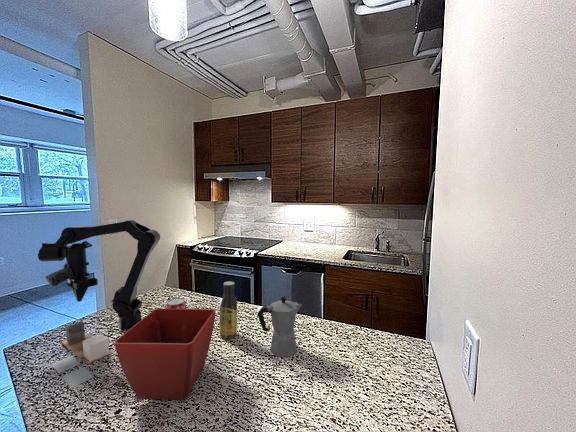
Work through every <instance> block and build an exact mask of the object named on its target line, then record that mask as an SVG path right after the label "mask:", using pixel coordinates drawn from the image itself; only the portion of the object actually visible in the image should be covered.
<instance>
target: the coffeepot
mask: <svg viewBox="0 0 576 432" xmlns="http://www.w3.org/2000/svg"><path fill="white" fill-rule="evenodd" d="M286 298H287V297H286V296H281V299H280V300H277V301H274V302H272V303H270V305H267V306H261V308H260V309H259V310H258V312H257V313H256V315H257V318H258V320H259V323H260V326H261V328H262V331H263V332H269V331H270V330H271V328H270V327H267V323H266V321H265V317H264V314H265V313H268V314H269V313H270V316H271V324H272V327H273V331H272V336H271V337H272V338H271V345H270V350H269V351H270V353H271V354H273V355H274V356H276V357H280V358H286V357H292V356H293V355H295V353H297V341H296V340H297V339H296V335H295V324H296V323H295V322H296V317H297V316H296V315H297V313H298V311H299V310H300V308H301V307H302V306H303V304H302V303H301V302H295V301H291V300H287V299H286Z"/></svg>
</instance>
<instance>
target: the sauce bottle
mask: <svg viewBox="0 0 576 432" xmlns="http://www.w3.org/2000/svg"><path fill="white" fill-rule="evenodd" d="M222 284H223V285H222V287H223V296H222V299H221V301H220V305H219V336H220V338H222V339H224V340H231V339H233V338H235V337H236V335H237V329H238V298H236V296H235V286H236V283H235V282H234V281H232V280H231V281H225V282H223V283H222Z"/></svg>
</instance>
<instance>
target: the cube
mask: <svg viewBox="0 0 576 432" xmlns="http://www.w3.org/2000/svg"><path fill="white" fill-rule="evenodd" d="M91 337H92V338H89V339H87V340H84V341H83V352H84V357H85V358H86V359H88V360H89V361H90V362H91V361H93V360H96V359H98V358H100V357H102V356H105V355H107V354H109V350H110V349H109V338H108V337H107V336H105V335H104V334H103V333H100V334H97V335H94V336H91ZM109 355H110V354H109ZM107 356H108V355H107ZM105 357H106V356H105ZM102 358H103V357H102ZM100 359H101V358H100ZM98 360H99V359H98ZM96 361H97V360H96ZM91 363H92V362H91Z"/></svg>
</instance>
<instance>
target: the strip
mask: <svg viewBox="0 0 576 432" xmlns="http://www.w3.org/2000/svg"><path fill="white" fill-rule="evenodd" d="M65 332H66V339H64V340H62V341H61V345H63V346H64V347H65V349H67V350H68V351H69V352H70V351H71V352H73V354H75V355H76V356H77V357H78V358H80V359H81V361H82V362H83V363H85V364H86V365H88V364H91V363H94V362H95V361H98V360H100V359H102V358H105V357H106V356H108V355H111V354H113V353H114V352H113V351H112V350H110V349H109V354H107V355H105V356H102V357H100V358H98V359H96V360H93V361H91V362H90V361H89V360H88V359H86V358H85V357H84V352H83V341H84V340H87V339H89V338H92V337H93V336H92V335H90V334H88V333H87V331H85V322H83V321H82V320H81V321H78V322H75V323H71V324H69V325H66V326H65Z"/></svg>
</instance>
